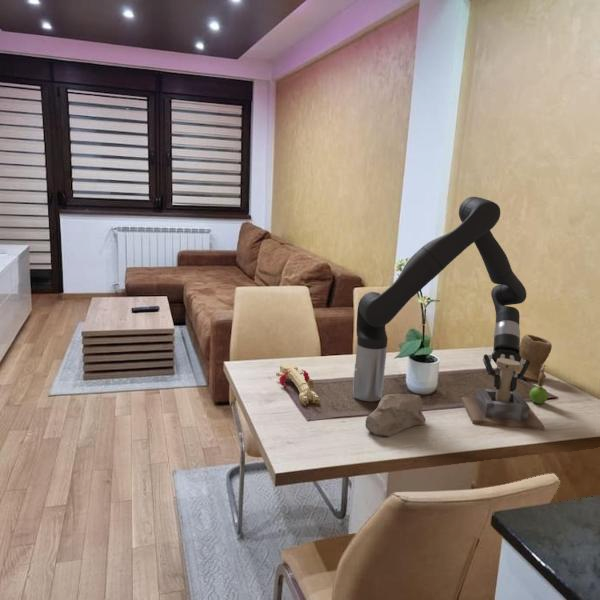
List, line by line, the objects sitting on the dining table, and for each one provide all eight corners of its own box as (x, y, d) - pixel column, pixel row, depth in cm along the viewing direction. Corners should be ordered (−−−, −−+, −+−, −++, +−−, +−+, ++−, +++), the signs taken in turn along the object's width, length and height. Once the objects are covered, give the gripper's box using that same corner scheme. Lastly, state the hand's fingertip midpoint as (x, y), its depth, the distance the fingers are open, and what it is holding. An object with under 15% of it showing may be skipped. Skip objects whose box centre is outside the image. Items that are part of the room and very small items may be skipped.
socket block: (472, 423, 151) (475, 405, 150) (461, 400, 167) (463, 383, 165) (543, 430, 150) (546, 411, 148) (525, 406, 165) (528, 389, 164)
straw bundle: (325, 407, 160) (298, 370, 182) (328, 381, 157) (300, 347, 179) (294, 410, 156) (270, 373, 179) (297, 384, 154) (272, 349, 176)
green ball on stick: (546, 400, 170) (552, 366, 168) (546, 407, 165) (553, 372, 162) (528, 396, 173) (534, 362, 170) (527, 403, 167) (534, 368, 164)
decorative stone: (410, 414, 156) (414, 382, 153) (430, 424, 150) (434, 392, 147) (360, 430, 144) (363, 397, 141) (380, 442, 138) (383, 408, 135)
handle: (511, 413, 154) (519, 366, 151) (488, 408, 157) (495, 361, 154) (512, 407, 159) (520, 361, 155) (490, 402, 161) (498, 356, 158)
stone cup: (553, 380, 189) (560, 340, 185) (530, 384, 183) (538, 344, 180) (519, 365, 202) (525, 328, 198) (497, 369, 196) (503, 331, 193)
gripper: (484, 329, 161) (481, 380, 153) (533, 335, 158) (533, 388, 149) (481, 340, 168) (478, 390, 159) (528, 346, 164) (527, 398, 156)
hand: (505, 389), depth 154 cm, fingers closed on handle, 3 cm apart
